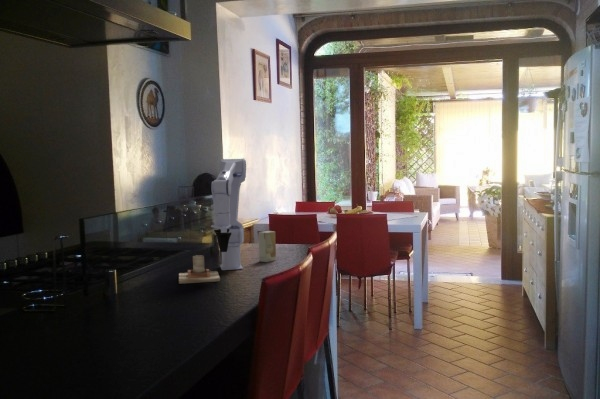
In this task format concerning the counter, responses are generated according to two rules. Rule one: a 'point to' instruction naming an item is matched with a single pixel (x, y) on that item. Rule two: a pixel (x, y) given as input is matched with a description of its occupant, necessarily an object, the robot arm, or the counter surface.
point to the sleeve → (198, 264)
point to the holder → (198, 277)
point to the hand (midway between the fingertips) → (223, 250)
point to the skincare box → (267, 246)
